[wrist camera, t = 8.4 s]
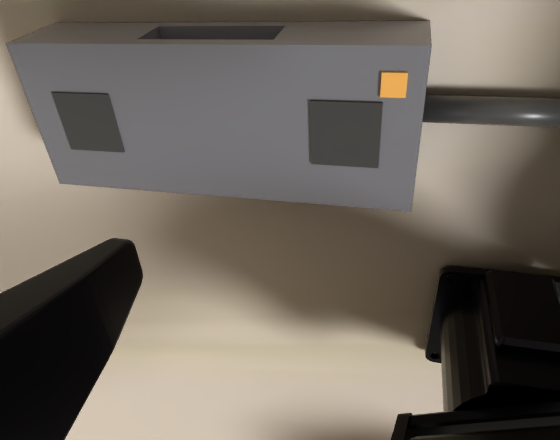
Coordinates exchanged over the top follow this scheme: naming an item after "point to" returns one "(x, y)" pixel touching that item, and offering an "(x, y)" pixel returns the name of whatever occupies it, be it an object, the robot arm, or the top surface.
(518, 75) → the top surface
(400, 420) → the robot arm
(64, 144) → the power strip
